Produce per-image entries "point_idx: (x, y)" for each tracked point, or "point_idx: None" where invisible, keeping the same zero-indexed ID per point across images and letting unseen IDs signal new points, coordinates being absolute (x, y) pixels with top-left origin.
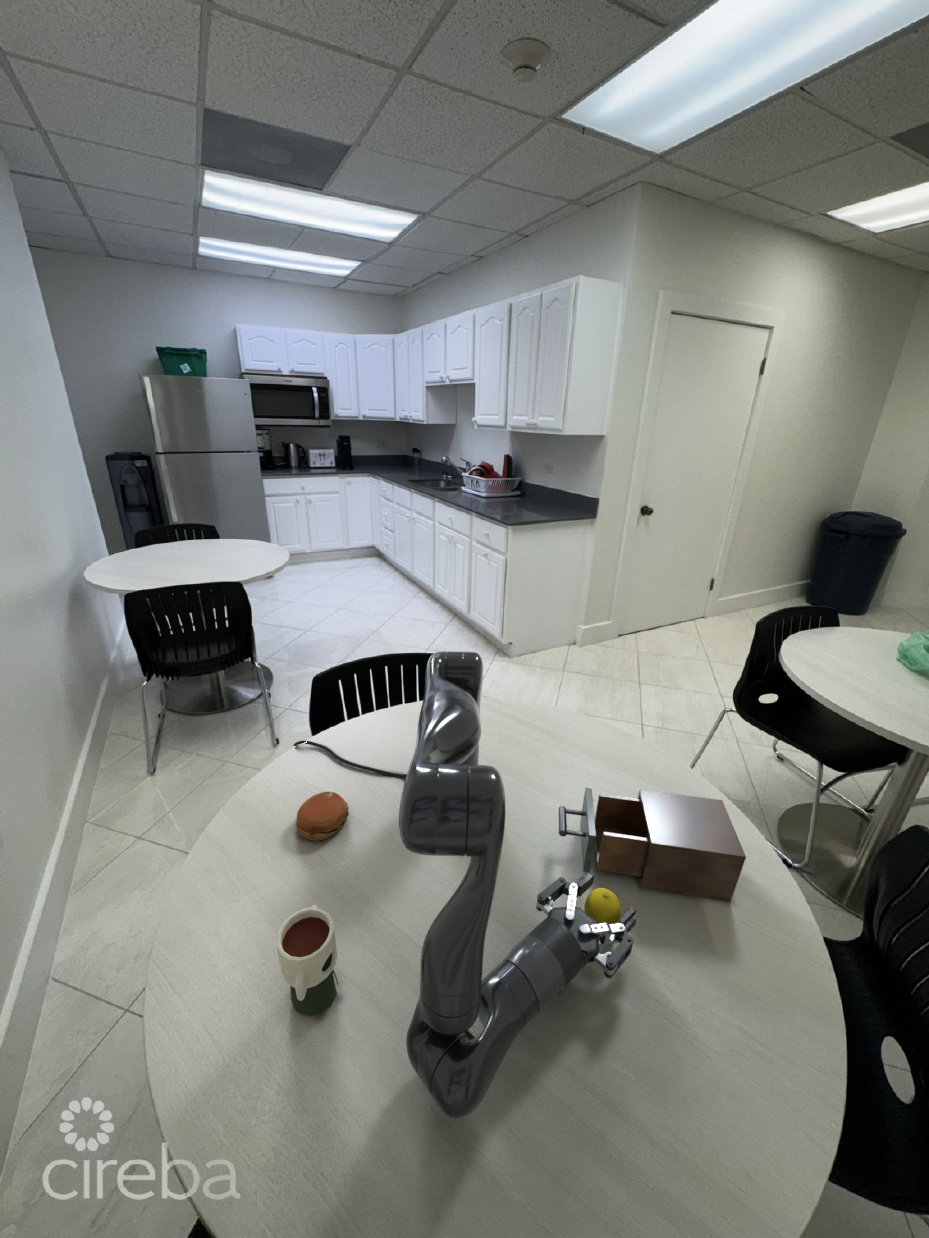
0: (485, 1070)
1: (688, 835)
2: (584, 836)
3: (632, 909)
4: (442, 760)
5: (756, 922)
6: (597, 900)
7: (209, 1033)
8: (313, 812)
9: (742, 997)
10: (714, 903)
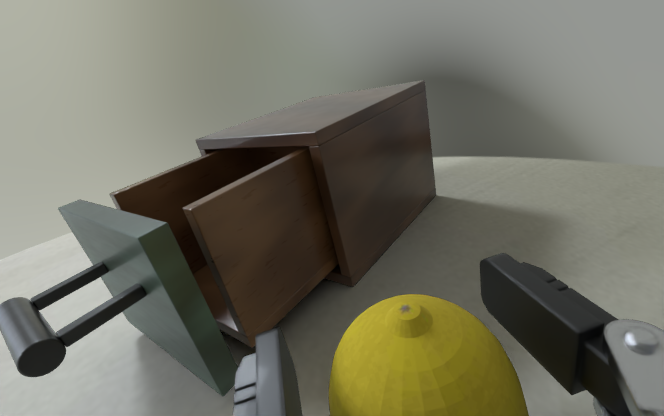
0: None
1: (342, 107)
2: (142, 295)
3: (500, 260)
4: None
5: (478, 184)
6: (417, 383)
7: None
8: None
9: (659, 233)
10: (432, 208)
